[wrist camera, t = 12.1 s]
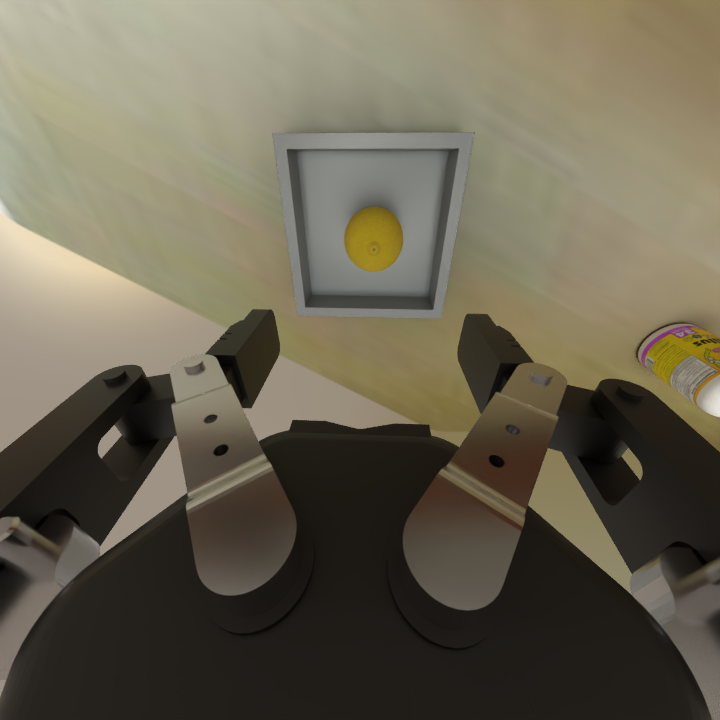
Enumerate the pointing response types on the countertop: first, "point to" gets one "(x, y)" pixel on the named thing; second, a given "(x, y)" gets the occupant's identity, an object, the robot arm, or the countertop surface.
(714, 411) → the supplement bottle
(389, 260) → the lemon
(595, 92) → the countertop surface
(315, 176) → the box
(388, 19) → the countertop surface
